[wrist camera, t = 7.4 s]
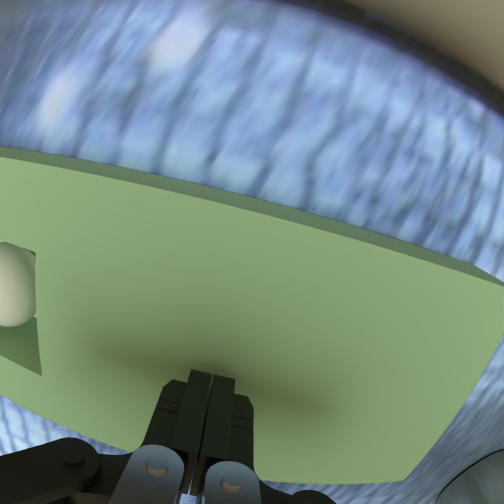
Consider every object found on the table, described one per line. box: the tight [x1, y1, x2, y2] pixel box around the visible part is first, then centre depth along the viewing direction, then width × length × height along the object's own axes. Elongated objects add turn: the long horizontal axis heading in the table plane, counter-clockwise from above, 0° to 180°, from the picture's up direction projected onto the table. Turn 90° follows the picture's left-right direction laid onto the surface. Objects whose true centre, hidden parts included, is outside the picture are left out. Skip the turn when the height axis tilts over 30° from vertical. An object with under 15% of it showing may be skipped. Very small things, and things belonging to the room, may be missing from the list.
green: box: [0, 146, 504, 484], centre depth 13 cm, size 28×12×4 cm, turn 75°
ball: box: [0, 242, 36, 327], centre depth 12 cm, size 4×4×4 cm
